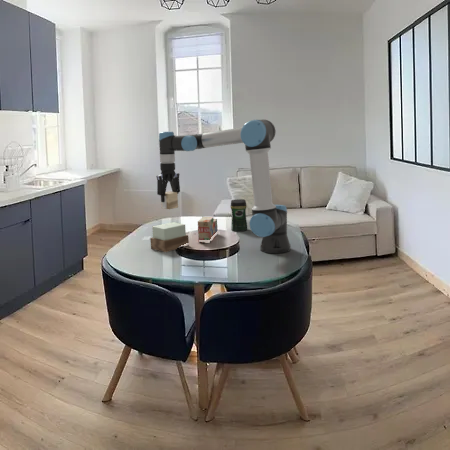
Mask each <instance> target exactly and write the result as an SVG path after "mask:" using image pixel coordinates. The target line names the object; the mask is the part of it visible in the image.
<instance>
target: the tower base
mask: <svg viewBox="0 0 450 450" xmlns="http://www.w3.org/2000/svg"><path fill="white" fill-rule="evenodd" d="M189 237H190V236H189V235H188V234H186V236H182V237H178V238H173V239H169V240H165V241H164V240H160V239H156V238H153V236H152V237H150V238H149V239H150V249H152V250H156V251H159V252H164V253H167V252H172V251H174V250H178V249H177V248H178V247H179V246H181V245H184V244H186V243H190V241H189V240H190V239H189Z"/></svg>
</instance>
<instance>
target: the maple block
mask: <svg viewBox="0 0 450 450" xmlns="http://www.w3.org/2000/svg"><path fill="white" fill-rule="evenodd" d="M178 194H179V193H178ZM178 194H177V192H172V191H170V190H169V191H166V192H165V196H166V201H167V209H165V208H163V210H164V209H165V210H173V209H177V208H179V204H178V203H179V199H178V196H179V195H178ZM160 203H161V204H160V205H161V206H162V202H160Z"/></svg>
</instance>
